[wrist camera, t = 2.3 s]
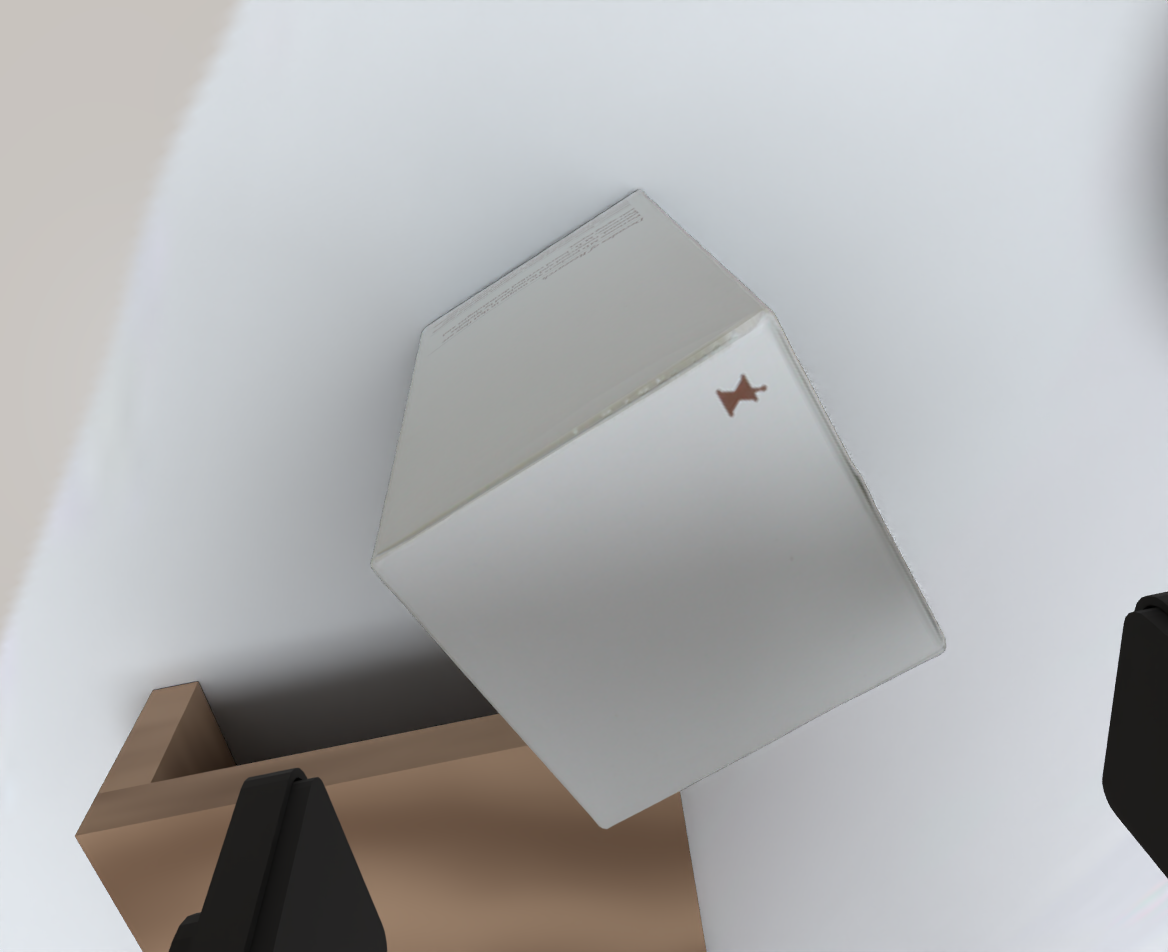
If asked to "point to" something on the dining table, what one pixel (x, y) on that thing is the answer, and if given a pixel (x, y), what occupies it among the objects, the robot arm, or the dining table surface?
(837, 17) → the dining table surface
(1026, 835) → the dining table surface
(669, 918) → the walnut shelf
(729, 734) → the supplement box
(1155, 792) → the robot arm
